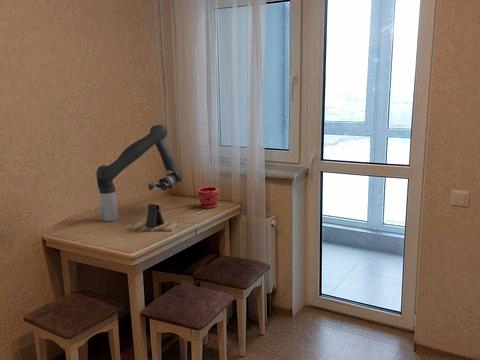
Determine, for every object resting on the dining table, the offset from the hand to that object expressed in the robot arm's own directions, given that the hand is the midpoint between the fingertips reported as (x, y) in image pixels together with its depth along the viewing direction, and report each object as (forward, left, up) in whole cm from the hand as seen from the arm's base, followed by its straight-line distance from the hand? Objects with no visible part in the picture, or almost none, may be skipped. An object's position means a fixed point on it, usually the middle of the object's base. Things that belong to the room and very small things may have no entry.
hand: (157, 188), depth 244 cm
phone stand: (+1, -10, -19) cm, 22 cm away
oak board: (0, -11, -20) cm, 23 cm away
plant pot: (+22, +34, -21) cm, 46 cm away
